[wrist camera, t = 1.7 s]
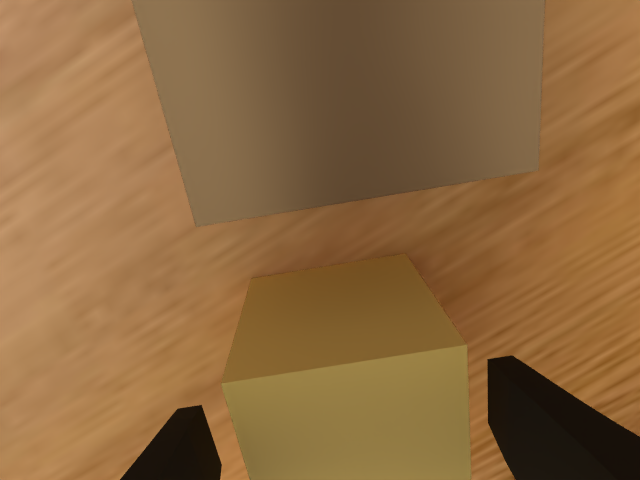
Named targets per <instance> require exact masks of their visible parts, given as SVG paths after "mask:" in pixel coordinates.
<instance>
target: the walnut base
mask: <svg viewBox="0 0 640 480" xmlns="http://www.w3.org/2000/svg"><path fill="white" fill-rule="evenodd" d="M132 4H133V7H134V11H135V14H136V18H137V21H138V25H139V28H140V32H141V35H142V39H143V42H144V46H145V49H146V53H147V56H148V60H149V63H150V67H151V70H152V74H153V77H154V81H155V84H156V88H157V91H158V95H159V98H160V102H161V105H162V109H163V112H164V116H165V119H166V123H167V126H168V130H169V133H170V137H171V140H172V144H173V147H174V151H175V154H176V158H177V161H178V165H179V168H180V172H181V175H182V179H183V182H184V186H185V189H186V193H187V196H188V200H189V203H190V207H191V210H192V214H193V217H194V221H195V224H196V227H200V226H206V225H212V224H218V223H224V222H230V221H236V220H242V219H248V218H254V217H260V216H266V215H272V214H278V213H285V212H291V211H297V210H303V209H309V208H315V207H321V206H327V205H333V204H339V203H345V202H351V201H357V200H363V199H369V198H375V197H382V196H388V195H394V194H400V193H406V192H412V191H418V190H424V189H430V188H436V187H442V186H448V185H454V184H460V183H466V182H472V181H478V180H485V179H491V178H497V177H503V176H509V175H515V174H521V173H527V172H533V171H539V146H540V120H541V93H542V67H543V40H544V14H545V0H132Z"/></svg>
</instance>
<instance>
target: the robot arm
mask: <svg viewBox="0 0 640 480" xmlns="http://www.w3.org/2000/svg"><path fill="white" fill-rule="evenodd" d="M488 424H489V426H490V428H491V430H492V433H493V435H494V437H495V439H496V442H497V444H498V446H499V448H500V450H501V452H502V454H503V457H504V459H505V461H506V463H507V465H508V467H509V468H510V470H511V472H512V474H513V475H514V477H515V479H516V480H640V437H639V436H637V435H636V434H634V433H632V432H631V431H629V430H627V429H625V428H624V427H622V426H621V425H619V424H617V423H616V422H614V421H612V420H611V419H609V418H607V417H606V416H604V415H603V414H601V413H599V412H598V411H596V410H595V409H593V408H591V407H590V406H588V405H587V404H585V403H584V402H582V401H580V400H579V399H577V398H576V397H574V396H573V395H571V394H570V393H568V392H567V391H565V390H564V389H562V388H561V387H559V386H558V385H556V384H555V383H553V382H552V381H550V380H549V379H547V378H546V377H544V376H543V375H541V374H540V373H538V372H537V371H535V370H534V369H532V368H531V367H529V366H528V365H526V364H525V363H523V362H522V361H520V360H518V359H517V358H515V357H514V356H506V357H499V358H493V359H488ZM221 466H222V464H221V461H220V458H219V455H218V452H217V449H216V446H215V444H214V441H213V438H212V435H211V432H210V429H209V426H208V423H207V420H206V417H205V414H204V411H203V408H202V405H199V406H192V407H186V408H180V409H177V410H176V411H175V413H174V414H173V415H172V416H171V417H170V419H169V420H168V421H167V422H166V424H165V425H164V426H163V427H162V429H161V430H160V431H159V432H158V434H157V435H156V436H155V437H154V439H153V440H152V441H151V442H150V444H149V445H148V446H147V447H146V449H145V450H144V451H143V452H142V454H141V455H140V456H139V457H138V458H137V460H136V461H135V462H134V463H133V465H132V466H131V467H130V468H129V469H128V471H127V472H126V473H125V474H124V475H123V477H122V478H121V479H120V480H220V475H221Z"/></svg>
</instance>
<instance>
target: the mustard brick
mask: <svg viewBox="0 0 640 480" xmlns="http://www.w3.org/2000/svg"><path fill="white" fill-rule="evenodd" d="M221 386H222V389H223V393H224V396H225V399H226V403H227V406H228V409H229V412H230V416H231V419H232V422H233V426H234V429H235V432H236V435H237V439H238V442H239V445H240V449H241V452H242V455H243V459H244V462H245V465H246V468H247V472H248V475H249V478H250V480H471V453H470V420H469V388H468V355H467V344H466V342H465V341H464V339H463V338H462V336H461V335H460V333H459V332H458V330H457V329H456V327H455V326H454V325H453V323H452V322H451V320H450V319H449V317H448V316H447V314H446V313H445V311H444V310H443V308H442V307H441V305H440V304H439V302H438V301H437V299H436V298H435V296H434V295H433V293H432V292H431V290H430V289H429V288H428V286H427V285H426V283H425V282H424V280H423V279H422V277H421V276H420V274H419V273H418V271H417V270H416V268H415V267H414V265H413V264H412V262H411V261H410V259H409V258H408V256H407V255H406V254H399V255H393V256H387V257H381V258H375V259H368V260H362V261H356V262H350V263H343V264H337V265H331V266H325V267H319V268H312V269H306V270H300V271H294V272H287V273H281V274H275V275H269V276H263V277H256V278H252V279H251V282H250V285H249V289H248V292H247V296H246V299H245V302H244V306H243V309H242V313H241V316H240V320H239V323H238V326H237V330H236V333H235V337H234V340H233V344H232V347H231V350H230V354H229V357H228V361H227V364H226V367H225V371H224V374H223V378H222V381H221Z"/></svg>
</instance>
